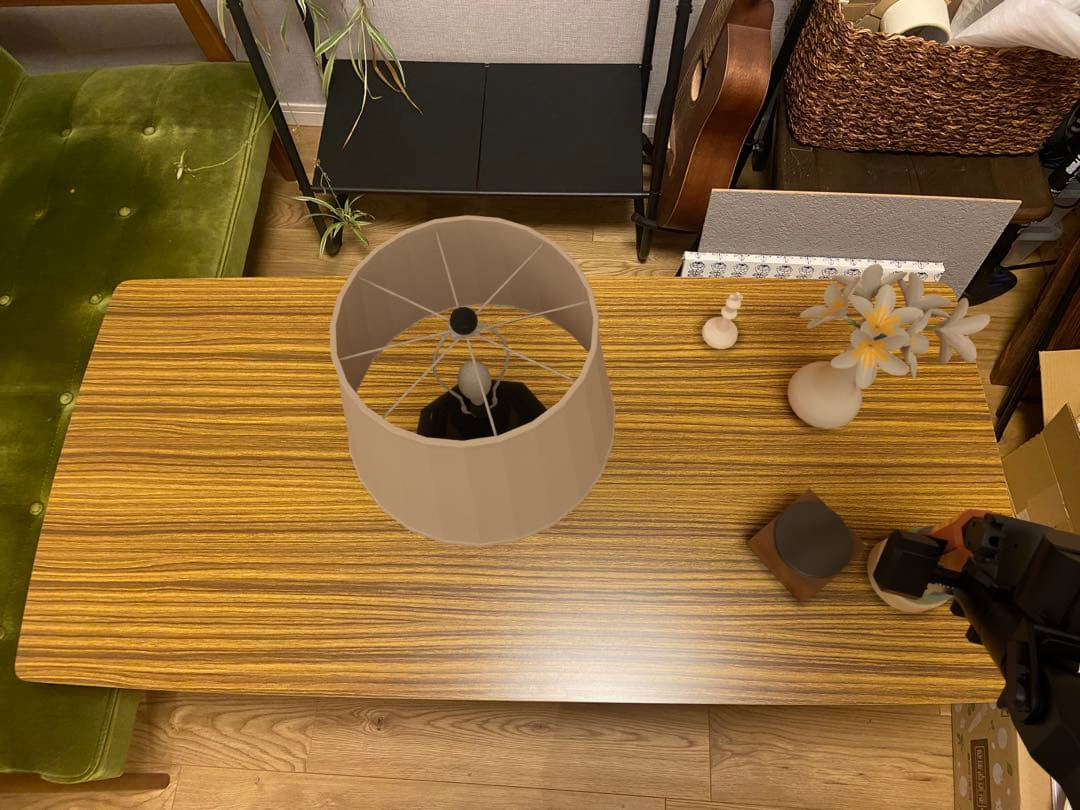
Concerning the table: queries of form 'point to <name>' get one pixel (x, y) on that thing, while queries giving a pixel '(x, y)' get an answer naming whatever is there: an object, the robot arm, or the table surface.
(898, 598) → the disc stack
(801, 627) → the table surface
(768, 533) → the coaster stand
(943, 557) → the terracotta octagonal pot
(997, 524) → the robot arm
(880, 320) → the flower vase
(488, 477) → the table lamp
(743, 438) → the table surface
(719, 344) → the chess piece
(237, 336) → the table surface
